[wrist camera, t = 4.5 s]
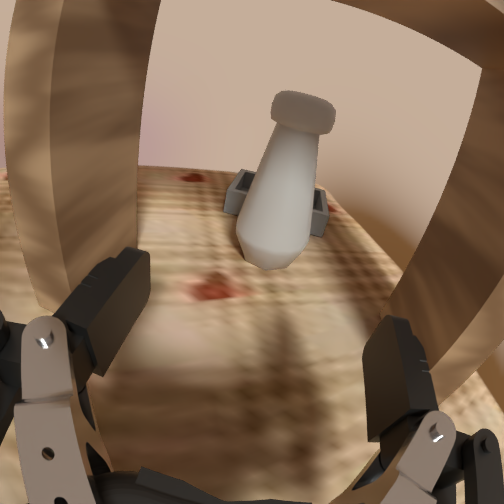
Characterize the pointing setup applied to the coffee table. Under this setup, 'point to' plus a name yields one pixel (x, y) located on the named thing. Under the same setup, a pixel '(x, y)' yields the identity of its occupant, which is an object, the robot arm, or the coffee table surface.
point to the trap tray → (240, 191)
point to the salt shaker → (284, 183)
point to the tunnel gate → (127, 149)
